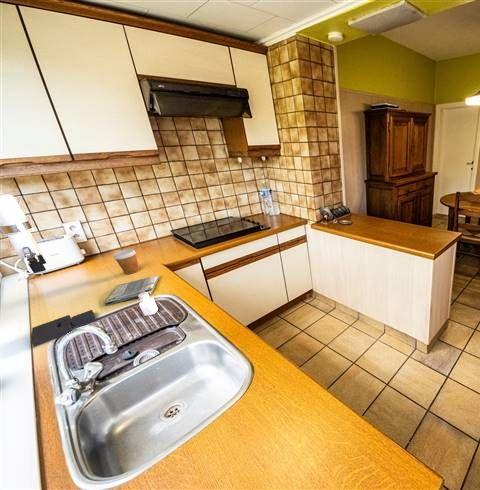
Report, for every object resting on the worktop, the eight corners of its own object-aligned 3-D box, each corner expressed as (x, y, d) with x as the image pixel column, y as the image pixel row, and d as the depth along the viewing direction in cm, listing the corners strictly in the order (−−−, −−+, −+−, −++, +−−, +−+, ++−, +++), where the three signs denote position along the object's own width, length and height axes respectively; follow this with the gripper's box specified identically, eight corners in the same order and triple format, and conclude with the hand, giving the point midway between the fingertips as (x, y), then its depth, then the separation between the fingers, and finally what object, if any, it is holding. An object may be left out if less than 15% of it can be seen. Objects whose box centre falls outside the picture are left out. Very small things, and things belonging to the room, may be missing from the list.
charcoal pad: (74, 333, 102) (70, 327, 101) (35, 348, 96) (30, 342, 94) (72, 320, 110) (69, 314, 109) (36, 333, 103) (32, 327, 102)
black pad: (96, 321, 109) (93, 315, 108) (65, 333, 103) (61, 327, 101) (95, 315, 112) (91, 309, 111) (64, 326, 106) (61, 320, 105)
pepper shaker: (143, 316, 110) (134, 297, 106) (148, 311, 114) (139, 292, 110) (154, 314, 111) (146, 295, 107) (159, 309, 114) (150, 290, 111)
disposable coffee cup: (140, 266, 155) (132, 247, 150) (145, 270, 149) (136, 251, 144) (119, 272, 148) (110, 253, 143) (123, 277, 142) (114, 257, 138)
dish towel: (118, 287, 133) (115, 282, 132) (160, 278, 140) (158, 272, 139) (103, 307, 118) (100, 301, 116) (152, 295, 124) (150, 290, 123)
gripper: (2, 226, 102) (27, 265, 109) (-4, 236, 91) (24, 278, 98) (32, 221, 107) (54, 258, 114) (29, 229, 96) (54, 270, 103)
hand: (40, 268), depth 106 cm, fingers open, 9 cm apart
